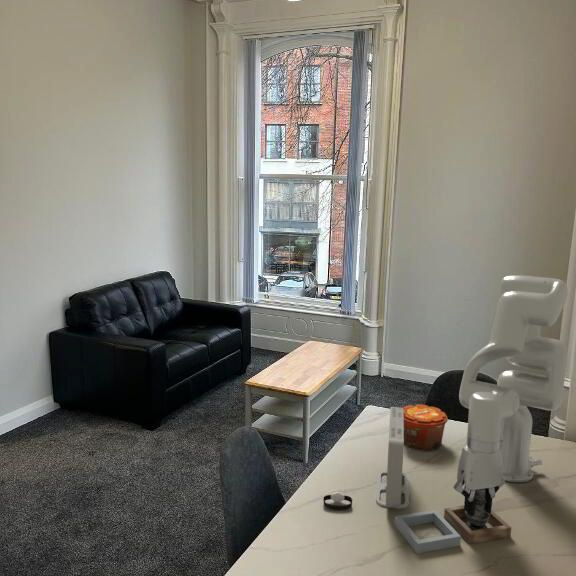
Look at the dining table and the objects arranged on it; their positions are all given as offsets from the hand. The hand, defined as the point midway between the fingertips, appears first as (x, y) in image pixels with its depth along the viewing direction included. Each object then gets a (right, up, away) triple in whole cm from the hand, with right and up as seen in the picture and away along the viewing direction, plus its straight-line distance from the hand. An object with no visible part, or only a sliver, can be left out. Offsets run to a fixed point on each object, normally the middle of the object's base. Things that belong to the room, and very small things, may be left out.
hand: (477, 510), depth 137 cm
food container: (-3, +3, +48) cm, 48 cm away
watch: (-34, -3, +9) cm, 35 cm away
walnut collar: (0, -4, +1) cm, 4 cm away
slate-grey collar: (-14, -5, -3) cm, 15 cm away
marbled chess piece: (0, -4, +1) cm, 5 cm away
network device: (-18, -1, +18) cm, 25 cm away
